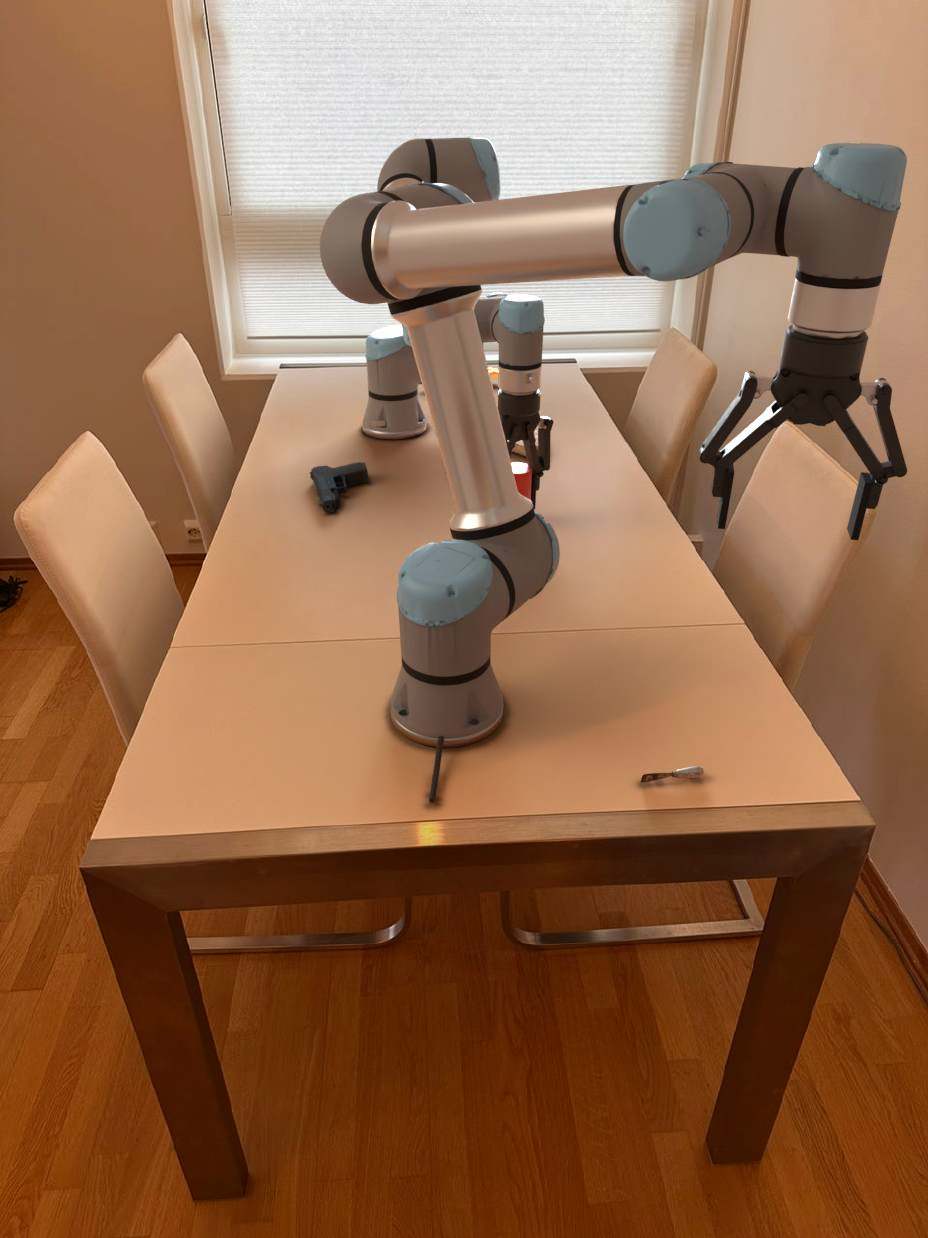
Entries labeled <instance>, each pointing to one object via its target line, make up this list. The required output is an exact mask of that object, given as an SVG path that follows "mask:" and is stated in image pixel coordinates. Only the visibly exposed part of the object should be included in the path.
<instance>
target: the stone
mask: <svg viewBox="0 0 928 1238" xmlns="http://www.w3.org/2000/svg"><path fill="white" fill-rule="evenodd" d="M534 435H535V440H536V442H535V445H536V449H537V451H538V429H535V431H534ZM512 453H516V454H518V455H521V456H524V457H526V452H525V448H524V444H523V441H522V440H520V441H518V442H516V444H515V447H514V448H513V449H512Z"/></svg>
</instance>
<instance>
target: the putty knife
mask: <svg viewBox="0 0 928 1238" xmlns="http://www.w3.org/2000/svg"><path fill="white" fill-rule="evenodd" d="M704 772H705V771H704V768H702V767H701V766H697V765H695V766H688V767H683V768H679V769H675V770H673V771H671V772H653V773H652V772H651V773H650V772H649V773H644V774H642V776H641V779H640V783H642V784H645V783H648V782H653V781H659V780H665V779H668V778H673V779H674V778H675V779H693V778H694V779H695V778H700V777H702V776H703V775H704Z"/></svg>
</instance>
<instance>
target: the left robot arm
mask: <svg viewBox="0 0 928 1238" xmlns="http://www.w3.org/2000/svg"><path fill="white" fill-rule="evenodd" d="M422 182H424V183H442V184H448V185H451V186H453V187H456V188H457V189H459V190H460V191H461V192H463V193H465V194H466V195H467V196H468V197H469V198H470V199H471V200H472V201H473V202H474V203H475V202H484V201H493V200H500V197H501V173H500V166H499V160H498V155H497V152H496V149H495V147H494V144H493V143H492V142H491V140H489V139H488V138H485V137H471V136H467V137H440V138H437V137H435V138H423V137H419V138H413V139H410V140H407V141H404V142H403V143H401V144H399V145H398V146H397V147H396V148H395V149H394V150H393V151H391V153H390V154H389V155H388V157H387V158H386V160H385V161H384V163H383V165H382V167H381V169H380V172H379V175H378V179H377V187H376V190H377V191H383V190H388V189H393V188H399V187H404V186H409V185H412V184H419V183H422ZM377 191H376V192H377ZM544 305H545V304H544V302H543V299H542V298H540V297H539V296H534V295H531V294H518V293H517V294H508V293H504V292H499V291H498V292H491V293H490V294H488V295H486V296H485V297H479V299H478V301H477V303H476V305H475V308H474V312H475V316H476V320H477V324H478V329H479V333H480V337H481V341H482V345H483V346H484V344H485V343H498V365H497V367H498V368H497V369H498V377H497V388H499V389H498V391H497V407H498V411H499V415H500V419H501V424H502V428H503V432H504V436H505V440H506V444H507V448H508V453H509V457H510V458H511V456H512V453H513V452H512V449H513V448H514V447H515V444H516V442H518V441H520V440H522V441H523V444H524V448H525V452H526V456H525V457H526V461H527V464H528V465H530V466H531V467H532V483H531V501H532V503H533V507H534V510H536V505H537V504H536V503H537V492H538V491H539V490H540V488H541V486H540V484H541V478H542V477H544V473H545V472H548V471H549V470H550V468H551V436H552V435H551V432H552V428H553V427H554V426H553V425H554V420H553V419H552V418H550V417H548V416H546V415H542V416H541V415H540V412H539V411H540V409H541V394H542V393H541V391H540V389H541V387H542V365H543V364H542V363H543V362H542V361H543V349H544V348H543V345H544V326H545V322H546V320H545V306H544ZM364 358H365V360H366V373H367V374H366V375H367V390H368V391H367V392H368V399H367V403H366V407H365V411H364V415H363V417H362V418H363V419H362V431H363V433H365V435H367V436H370V437H373V438H376V439H383V440H402V439H403V440H404V439H409V438H413V437H417V436H419V435H421V434H423V433H424V432H425V431H426V430H427V419H426V414H425V412H424V409H423V407H422V404H421V401H420V399H419V398H420V397H419V388H418V387H419V385H422V381H421V378H420V374H419V370H418V367H417V363H416V359H415V356H414V352H413V348H412V345H411V341H410V337H409V333H408V330H407V328H406V327H405V326H404V325H403V324H398V325H397V324H396V325H395V324H394V325H390V326H385V327H382V328H379V329H376V330H374V331H373V332H370V334H368V336H367V337H366V339H365V354H364ZM535 430H538V450H537V449H536V445H535V442H536V440H535V435H534V431H535Z"/></svg>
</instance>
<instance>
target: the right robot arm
mask: <svg viewBox="0 0 928 1238" xmlns="http://www.w3.org/2000/svg"><path fill="white" fill-rule="evenodd" d="M907 162H908V159H907V155H906V152H905V151H904V150H903V148H901V147H900V146H897V145H894V144H886V143H885V144H884V143H869V142H868V143H867V142H859V143H852V142H836V143H827V144H825V145H823V146H822V147H821V148H820V149H819V150H818V152H817V156H816V159H815V161H814V162H813V164H812V166H805V167H804V166H803V167H800V166H798V167H791V166H789V167H787V166H775V165H774V166H773V165H761V164H760V165H759V164H746V163H745V164H744V163H734V162H732V161H726V160H724V161H721V162H705V163H703V162H698V163H695V164H693V165H692V166H690V167H689V168H688V169H687V170H686V172H685V174H684V175H683V176H682V177H680V178H674V179H673V178H672V179H665V180H664V179H663V180H656V181H648V182H642V183H635V184H624V185H616V186H607V187H599V188H590V189H589V188H587V189H581V190H572V191H563V192H562V191H561V192H554V193H545V194H538V195H528V196H520V197H510V198H503V199H502V198H501V199H499V200H493V201H484V202H475V203H474V202H473V201H472V200H471V199H470V198H469V197H468V196H467V195H466V194H465V193H463V192H461V191H460V190H459V189H457V188H456V187H453V186H451V185H448V184H442V183H424V182H422V183H419V184H412V185H409V186H404V187H399V188H393V189H388V190H383V191H370V192H364V193H359V194H356V195H353V196H351V197H349V198H346V199H344V200H343V201H341V202H340V203H339V204H338V205H337V206H336V207H335V208H334V209H333V210H332V211H331V212H330V214H329V216H327V218H326V220H325V222H324V224H323V227H322V231H321V233H320V238H319V255H320V260H321V264H322V268H323V270H324V272H325V273H324V274H325V275H326V277H327V278H328V280H329V281H330V283H331V285H332V286H333V287H334V288H335V289H336V290H337V291H338V292H339V293H340V294H341V295H343V296H344V297H345V298H348V299H350V300H352V301H354V302H356V303H359V304H365V305H378V304H379V305H381V304H386V303H387V307H388V311H389V314H390V317H391V318H392V319H393V320H394V321H397V322H398V323H399V324H400V325H402V324H403V325H404V326H405V327H406V328H407V330H408V333H409V337H410V341H411V345H412V348H413V352H414V356H415V359H416V363H417V367H418V370H419V374H420V378H421V381H422V384H421V385H422V389H423V392H424V395H425V400H426V404H427V406H428V407H427V408H428V410H429V414H430V418H431V422H432V425H433V429H434V432H435V436H436V437H435V438H436V441H437V444H438V447H439V451H440V455H441V458H442V462H443V465H444V469H445V474H446V477H447V481H448V484H449V488H450V492H451V495H452V499H453V502H454V503H453V504H454V506H455V511H454V513H453V514H452V516H451V518H450V519H449V521H448V528H449V531H450V534H451V538H452V539H451V538H450V539H442V540H440V542H439V543H435V541H434V542H433V541H432V542H428V543H426V544H424V545H421V546H420V547H418V548H417V549H415V550H413V551H412V552H411V553H410V554H408V556H406V558H405V559H404V560H403V562H402V563H401V565H400V568H399V571H398V577H397V589H396V602H397V606H398V608H397V609H398V620H399V621H398V622H399V633H400V634H399V638H400V639H399V640H400V655H401V667H400V669H399V672H398V675H397V678H396V681H395V684H394V687H393V690H392V693H391V696H390V704H389V705H390V718H391V721H392V724H393V725H394V727H395V728H396V729H397V731H398V732H399V733H400V734H402V735H403V736H404V737H406V738H407V739H409V740H411V741H413V742H415V743H417V744H420V745H421V744H422V745H425V746H430V747H436V748H435V749H436V750H435V757H434V763H433V771H432V778H431V784H430V785H431V786H430V792H429V796H428V797H429V798H428V802H429V803H430V804H434V803H435V802H436V798H437V791H438V786H439V778H440V771H441V765H442V764H441V763H442V756H443V749H444V748H454V747H455V748H457V747H463V746H467V745H471V744H473V743H476V742H480V741H481V740H483V739H485V738H486V737H488V736H489V735H491V734H492V733H493V732H494V731H495V730H496V729H498V727H499V726H500V724H501V722H502V720H503V717H504V697H503V693H502V690H501V687H500V685H499V682H498V679H497V677H496V674H495V672H494V668H493V666H492V664H491V654H492V653H491V651H492V649H491V648H492V647H491V645H492V633H493V631H494V629H495V628H497V626H499V625H500V624H501V623H502V622H504V621H505V620H506V619H507V618H508V617H509V616H511V615H512V614H513V613H515V612H516V611H517V610H518V609H520V608H521V607H522V606H523V605H525V604H526V603H527V602H528V601H529V600H532V599H533V598H535V597H537V596H538V595H539V594H540V593H542V591H544V588H545V587H546V586H547V585H548V583H549V582H550V581H552V579H554V577H555V574H556V572H557V570H558V567H559V564H560V557H561V549H560V543H559V539H558V536H557V534H556V531H555V529H554V528H553V526H552V524H551V523H550V522H548V521H547V522H546V520H545V517H544V516H543V515H542V514H541V513H539V512H537V511H536V510H535V509H534V507H533V503H532V501H531V500H530V499H528V498H526V497H524V496H523V495H521V494H520V493H519V492H518V490H517V486H516V481H515V477H514V473H513V469H512V465H511V463H512V461H511V456H510V457H509V453H508V448H507V444H506V440H505V436H504V432H503V428H502V424H501V419H500V415H499V411H498V402H497V399H496V395H495V391H494V388H493V382H492V379H491V378H490V374H489V370H488V368H489V366H488V363H487V358H486V354H485V350H484V349H485V348H484V344H483V345H482V341H481V337H480V333H479V329H478V324H477V320H476V316H475V312H474V308H475V305H476V303H477V301H478V299H479V298H481V295H482V293H483V288H482V286H484V285H485V286H487V285H499V284H500V285H501V284H502V285H503V284H518V283H534V282H535V283H536V282H537V283H538V282H550V281H551V282H552V281H570V280H585V279H587V280H588V279H602V278H603V279H604V278H620V277H622V278H623V277H646V278H649V279H651V280H654V281H657V282H673V281H680V280H686V279H691V278H695V277H696V276H698V275H700V274H702V273H703V272H705V271H706V270H708V269H710V268H712V267H714V266H716V265H718V264H720V263H722V262H724V261H727V260H730V259H732V258H733V257H736V256H739V255H740V254H753V255H754V254H755V255H766V256H767V255H769V256H780V257H786V258H790V257H793V258H797V265H796V266H797V267H796V271H795V276H794V278H795V279H794V284H793V289H792V295H791V299H790V304H789V309H788V314H787V321H788V322H789V323H790V324H791V325H789V326H788V327H787V328H785V330H784V335H783V341H782V346H781V353H780V358H779V363H778V368H777V370H776V373H775V375H774V376H773V377H768V376H763V375H757V374H756V372H754V371H753V370H748V371H746V372H745V373H744V374H743V377H742V380H741V384H740V388H739V392H738V393H737V394H736V395H735V397H734V398H733V400H732V401H731V402H730V404H729V405H728V407H727V409H725V411H724V413H723V414H722V416H721V417H720V418H719V419H718V421H717V423H716V424H715V425H714V427H713V428H712V430H711V431H710V432H709V434H708V435H707V437H705V440H704V441H702V444H701V445H700V446H699V452H698V453H699V454H698V455H699V461H700V462H701V463H702V464H708V465H710V466H712V467H713V474H712V481H711V487H710V488H711V495H712V497H713V498H719V502H718V509H717V517H716V523H717V529H718V530H726V525H727V520H728V515H729V514H728V513H729V508H730V501H731V495H732V490H733V485H734V484H733V483H734V477H735V467H734V466H735V465H734V463H735V462H737V461H738V460H739V459H740V458H741V457H742V456H744V455H745V454H746V453H747V452H748V451H750V450H751V449H752V448H753V447H754V446H755V445H757V444H758V443H759V442H760V441H761V440H762V439H764V438H765V437H766V436H767V435H768V434H769V433H771V432H772V431H773V430H774V429H777V428H778V427H780V426H781V425H782V424H784V423H785V422H786V421H789V422H791V423H792V425H797V426H798V425H799V426H802V425H808V424H811V425H814V426H818V427H827V425H829V424H832V423H833V422H835V423H836V424H837V426H838V428H840V431H841V432H842V433H843V434H844V436H845V437H846V439H847V440H848V443H850V445H851V446H852V448H853V450H854V451H855V452H856V454H857V456H858V457H859V458H860V460H861V462H862V463H863V465H864V467H865V468H866V469H867V471H868V472H865V471H864V472H863V471H860V475H859V478H858V482H857V487H856V492H855V494H854V499H853V503H852V507H851V511H850V515H849V518H848V523H847V527H846V530H847V533H848V536H849V538H850V540H851V541H859V539H860V536H861V532H862V528H863V524H864V521H865V520H864V519H865V517H866V513H867V510H875V509H876V508H877V507H878V505H879V503H880V498H881V493H882V491H883V487H884V485H886V484H887V482H889V479H890V478H895V477H897V478H903V477H905V476H906V475H907V473H908V467H907V464H906V460H905V456H904V452H903V450H902V446H901V442H900V439H899V436H898V431H897V428H896V425H895V421H894V418H893V414H892V411H891V404H892V396H893V395H892V394H893V388H892V387H891V384H890V383H889V382H888V380H887V378H885V377H878V378H877V379H876V380H874V381H868V382H867V381H866V382H861V381H860V379H861V378H860V376H861V371H862V368H863V363H864V359H865V355H866V350H867V346H868V341H869V335H868V334H867V332H866V330H868V329H869V328H871V327H872V324H873V320H874V315H875V311H876V306H877V303H878V298H879V293H880V288H881V283H882V279H883V274H884V271H885V266H886V262H887V258H888V254H889V251H890V246H891V242H892V238H893V234H894V230H895V225H896V222H897V218H898V215H899V211H900V209H901V205H902V202H901V197H902V191H903V186H904V180H905V176H906V175H905V173H906V168H907ZM767 391H770V393H771V395H772V397H773V398H774V401H773V402H772V403H771V404H770V405H769V406H768V407H766V409H765V410H764V412H763V413H761V414H760V415H759V416H758V417H757V418H756V419H755V420H754V421H752V422H751V423H750V424H749V425H748V426H746V428H745V429H743V430H742V431H741V432H740V433H739V434H738V435H736V436H735V437H734V438H733V439H732V440H731V441H730V442H729V443H727V444H726V445H725V446H724V447H722V446H723V444H724V443H725V442H726V440H727V439H728V437H729V436H730V435H731V433H733V431H734V429H735V428H736V427H737V425H738V424H739V422H740V421H741V419H742V418H743V417H744V415H745V414H746V412H747V411H748V410H749V409H750V407H751V405H752V404H753V401H754V399H755V400H756V399H759V398H761V397H762V396H763V394H764V393H765V392H767ZM861 396H862V397H865V401H866V402H867V404H868V405H869V406H872V408H873V411H874V415H875V418H876V421H877V422H876V423H877V425H878V429H879V432H880V436H881V438H882V443H883V445H884V450H885V454H886V457H887V461H883V462H881V461H880V459H879V458H878V456H877V454H876V453H875V452H874V450H873V448H871V446H870V444H869V443H868V441H867V440H866V438H865V436H864V435H863V434H862V432H861V430H860V429H859V427H858V426H857V424H856V423H855V421H854V420H853V419H852V417H851V415H850V413H849V411H848V409H849V408H850V407H851V406H852V405H854V403H855V402H857V400H859V398H860V397H861ZM721 447H722V448H721Z"/></svg>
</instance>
